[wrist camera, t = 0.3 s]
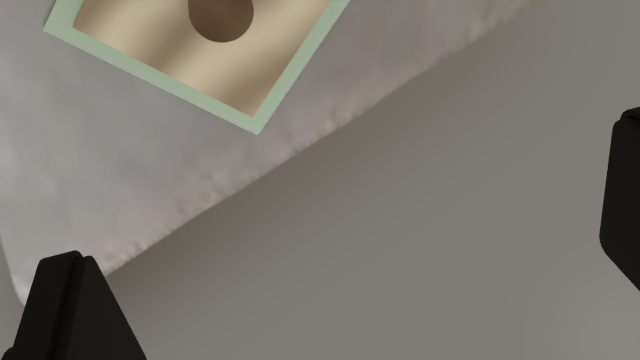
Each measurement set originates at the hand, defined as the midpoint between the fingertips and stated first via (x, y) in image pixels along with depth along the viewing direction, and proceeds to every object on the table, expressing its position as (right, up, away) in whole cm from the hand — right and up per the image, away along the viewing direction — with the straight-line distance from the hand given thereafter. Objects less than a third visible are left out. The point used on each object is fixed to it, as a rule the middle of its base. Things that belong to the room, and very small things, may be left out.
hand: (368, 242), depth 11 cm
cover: (-8, +14, +30) cm, 34 cm away
